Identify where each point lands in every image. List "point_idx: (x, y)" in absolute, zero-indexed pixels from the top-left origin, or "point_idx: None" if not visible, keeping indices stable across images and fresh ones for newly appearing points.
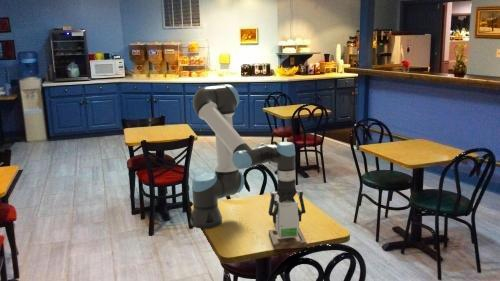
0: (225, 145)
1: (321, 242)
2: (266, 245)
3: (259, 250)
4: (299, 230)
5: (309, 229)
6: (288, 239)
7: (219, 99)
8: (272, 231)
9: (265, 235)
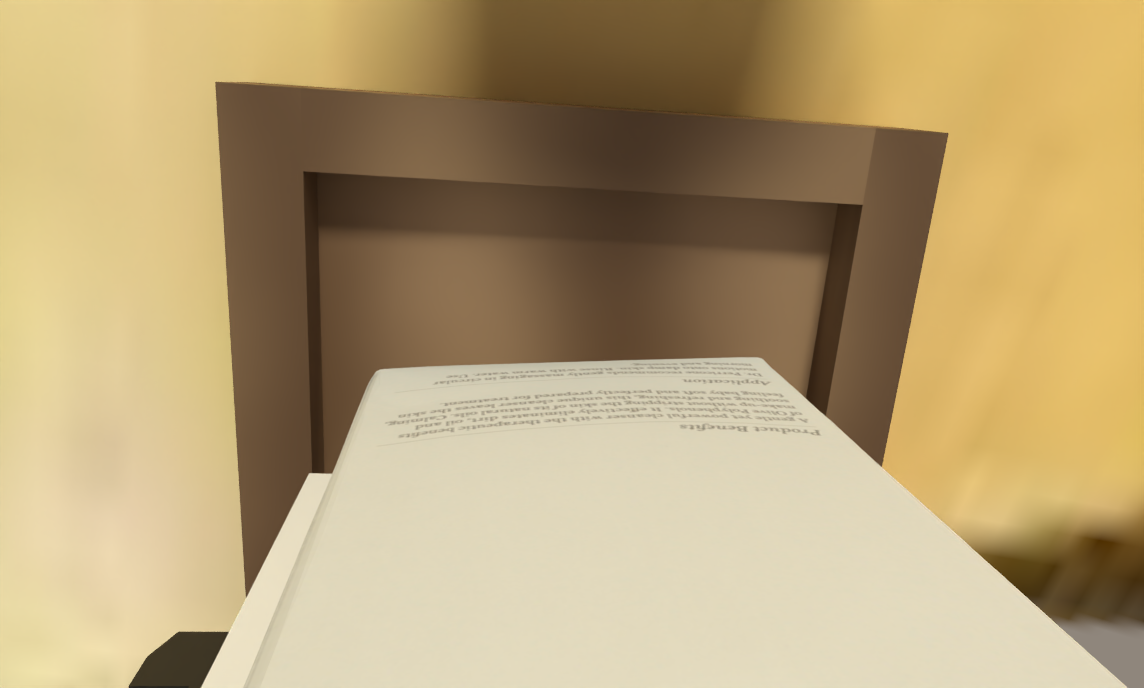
0: None
1: (1064, 579)
2: (167, 540)
3: (37, 683)
4: (892, 272)
5: (1136, 26)
6: None
7: None
8: (299, 195)
9: (173, 114)
